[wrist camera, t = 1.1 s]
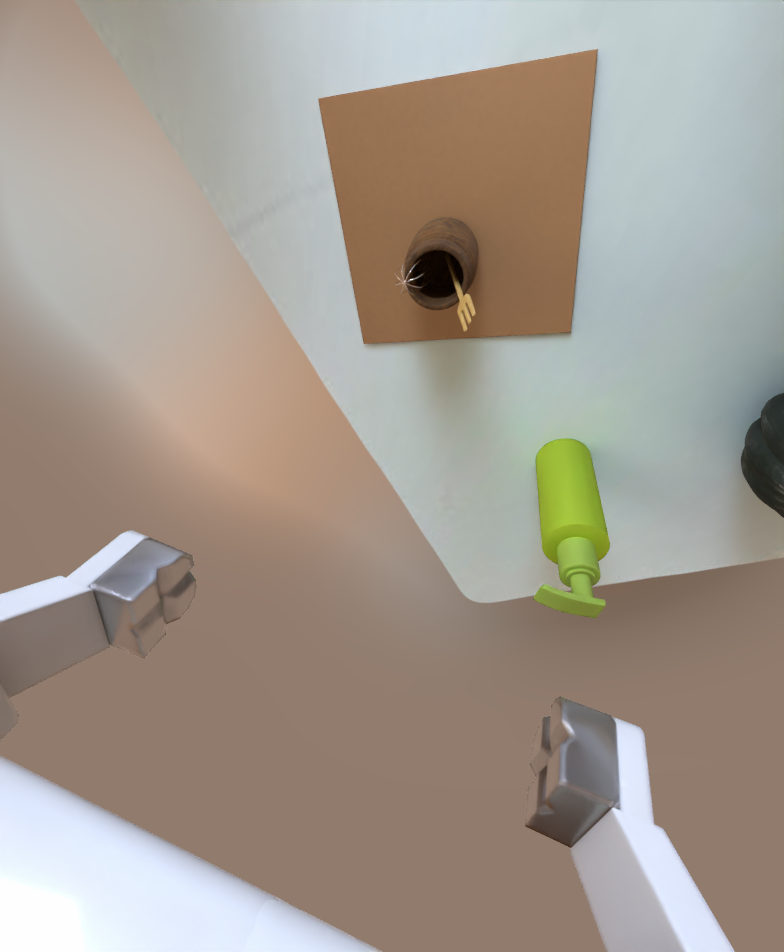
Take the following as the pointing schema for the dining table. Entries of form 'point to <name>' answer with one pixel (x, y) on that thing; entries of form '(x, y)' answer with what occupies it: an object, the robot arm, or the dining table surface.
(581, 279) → the dining table surface
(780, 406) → the squash
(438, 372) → the dining table surface
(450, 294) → the utensil holder
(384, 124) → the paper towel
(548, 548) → the soap dispenser
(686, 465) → the dining table surface
